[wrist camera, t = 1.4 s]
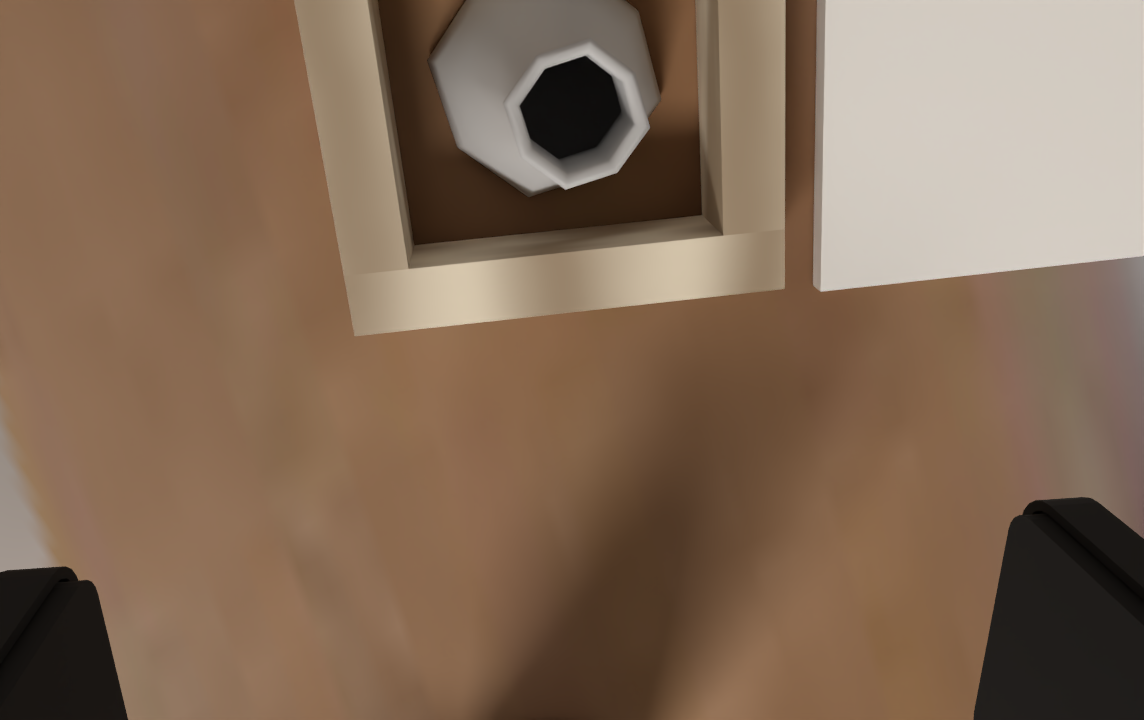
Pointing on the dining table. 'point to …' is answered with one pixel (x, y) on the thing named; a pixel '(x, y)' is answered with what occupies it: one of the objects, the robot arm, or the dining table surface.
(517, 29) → the flask
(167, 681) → the dining table surface
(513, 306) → the holder
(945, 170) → the plate
